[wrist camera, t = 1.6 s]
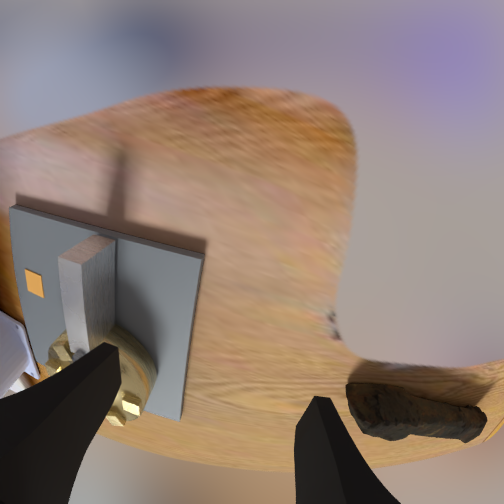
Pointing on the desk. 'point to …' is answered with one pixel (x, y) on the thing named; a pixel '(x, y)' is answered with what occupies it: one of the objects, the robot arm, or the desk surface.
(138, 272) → the base plate
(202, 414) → the desk surface
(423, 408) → the dark brown statuette
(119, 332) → the gold rounded piece
